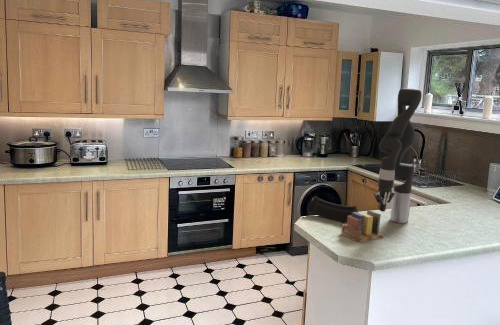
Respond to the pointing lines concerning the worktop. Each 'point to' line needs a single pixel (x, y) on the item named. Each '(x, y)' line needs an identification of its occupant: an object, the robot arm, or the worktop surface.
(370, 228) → the book
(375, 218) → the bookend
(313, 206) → the magazine
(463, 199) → the worktop surface
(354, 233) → the shelf
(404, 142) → the robot arm
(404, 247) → the worktop surface
